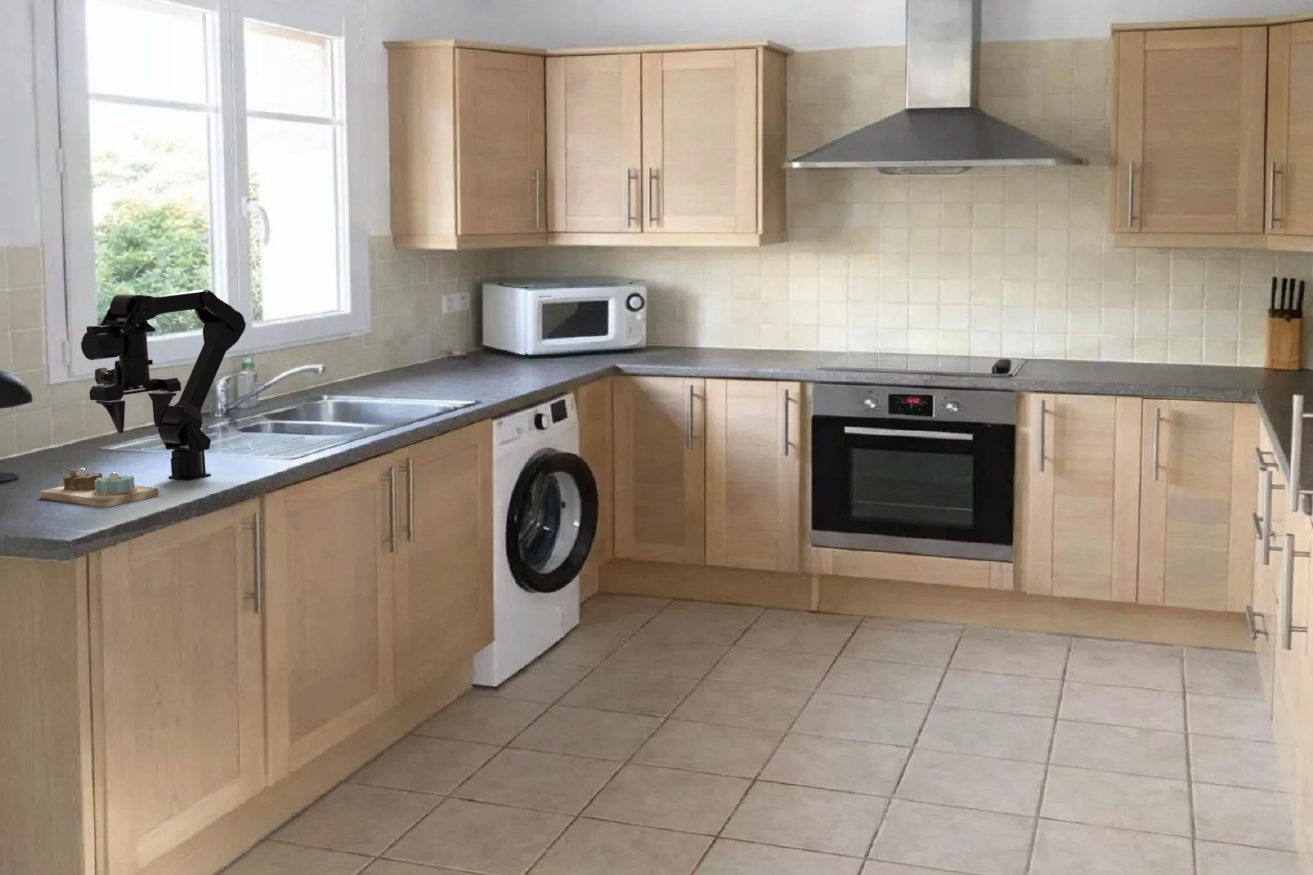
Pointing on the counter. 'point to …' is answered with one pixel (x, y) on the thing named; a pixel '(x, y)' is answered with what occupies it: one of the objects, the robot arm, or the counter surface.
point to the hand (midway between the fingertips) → (139, 429)
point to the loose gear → (114, 485)
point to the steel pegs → (83, 472)
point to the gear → (80, 481)
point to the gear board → (98, 496)
